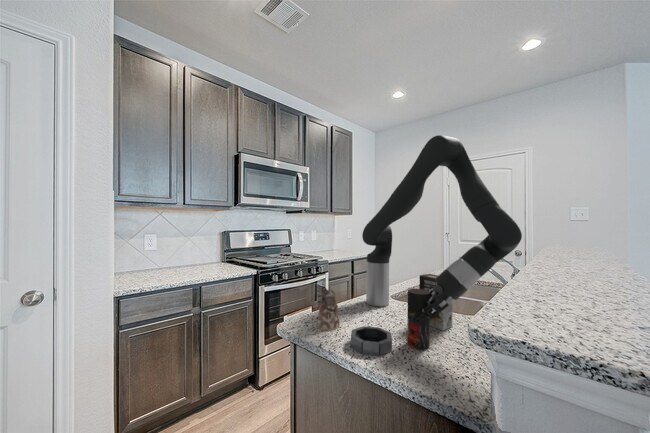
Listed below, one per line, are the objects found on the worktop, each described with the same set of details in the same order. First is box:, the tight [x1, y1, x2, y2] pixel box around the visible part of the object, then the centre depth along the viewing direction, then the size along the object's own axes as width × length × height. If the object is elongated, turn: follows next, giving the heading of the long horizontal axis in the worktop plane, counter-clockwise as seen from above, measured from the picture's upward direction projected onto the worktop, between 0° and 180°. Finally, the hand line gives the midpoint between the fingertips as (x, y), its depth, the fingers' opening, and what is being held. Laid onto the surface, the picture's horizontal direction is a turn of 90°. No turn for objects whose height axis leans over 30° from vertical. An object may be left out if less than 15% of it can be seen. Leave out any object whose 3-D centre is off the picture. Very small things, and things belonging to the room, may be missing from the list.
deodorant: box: [406, 288, 431, 351], centre depth 79 cm, size 6×6×15 cm
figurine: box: [316, 287, 340, 332], centre depth 91 cm, size 7×7×12 cm
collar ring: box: [350, 326, 393, 357], centre depth 78 cm, size 11×11×3 cm
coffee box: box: [418, 273, 454, 331], centre depth 94 cm, size 9×6×16 cm
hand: (412, 318), depth 79 cm, fingers closed on deodorant, 6 cm apart
